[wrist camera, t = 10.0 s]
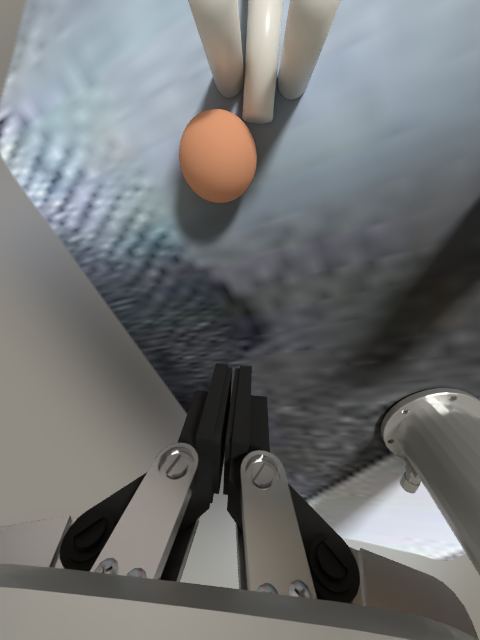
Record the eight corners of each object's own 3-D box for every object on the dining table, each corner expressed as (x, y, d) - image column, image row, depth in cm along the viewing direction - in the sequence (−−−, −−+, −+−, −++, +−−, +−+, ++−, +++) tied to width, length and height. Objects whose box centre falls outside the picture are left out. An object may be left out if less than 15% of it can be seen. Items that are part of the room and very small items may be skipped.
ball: (258, 96, 17) (274, 185, 20) (197, 129, 20) (219, 202, 23) (217, 85, 13) (245, 200, 16) (148, 128, 16) (182, 217, 19)
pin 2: (305, 100, 19) (339, 21, 11) (275, 99, 19) (288, 19, 11) (311, 59, 18) (353, -59, 10) (279, 58, 18) (297, -61, 10)
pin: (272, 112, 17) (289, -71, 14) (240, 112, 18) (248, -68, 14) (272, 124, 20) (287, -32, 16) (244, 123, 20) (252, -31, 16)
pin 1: (243, 97, 19) (234, 18, 11) (214, 96, 19) (185, 17, 11) (245, 57, 18) (236, -61, 10) (214, 56, 18) (182, -62, 10)
